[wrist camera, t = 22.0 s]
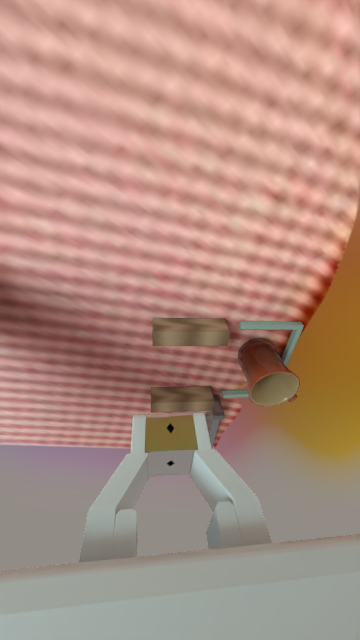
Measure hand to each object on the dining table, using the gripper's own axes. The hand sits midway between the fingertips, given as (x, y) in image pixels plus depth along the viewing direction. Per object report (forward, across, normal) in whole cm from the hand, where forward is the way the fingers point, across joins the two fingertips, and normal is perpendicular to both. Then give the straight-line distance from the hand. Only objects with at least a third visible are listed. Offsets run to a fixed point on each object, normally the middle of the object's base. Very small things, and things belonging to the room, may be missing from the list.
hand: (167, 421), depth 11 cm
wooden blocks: (+31, -6, +26) cm, 41 cm away
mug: (+31, -22, +24) cm, 45 cm away
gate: (+31, -14, +46) cm, 57 cm away
